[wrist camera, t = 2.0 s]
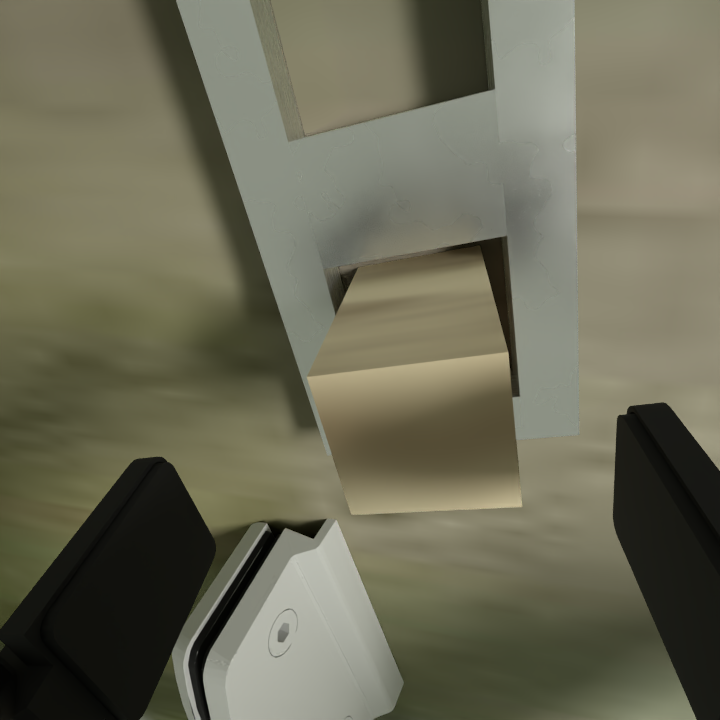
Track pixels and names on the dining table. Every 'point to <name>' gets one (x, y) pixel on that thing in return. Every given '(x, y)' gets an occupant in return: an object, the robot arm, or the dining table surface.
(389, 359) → the peg
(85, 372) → the dining table surface
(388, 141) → the rail
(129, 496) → the robot arm
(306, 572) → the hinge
